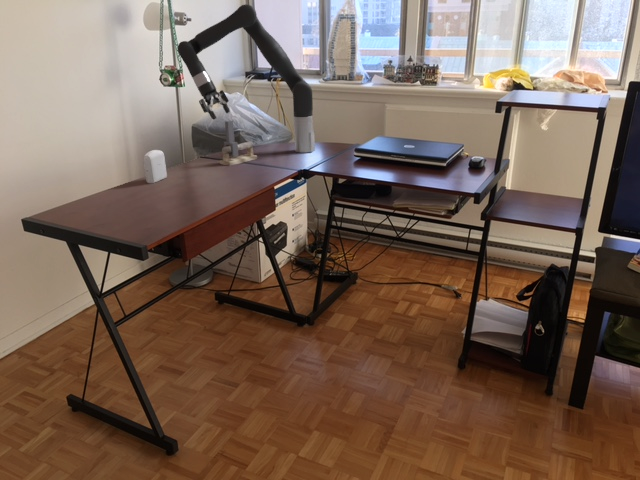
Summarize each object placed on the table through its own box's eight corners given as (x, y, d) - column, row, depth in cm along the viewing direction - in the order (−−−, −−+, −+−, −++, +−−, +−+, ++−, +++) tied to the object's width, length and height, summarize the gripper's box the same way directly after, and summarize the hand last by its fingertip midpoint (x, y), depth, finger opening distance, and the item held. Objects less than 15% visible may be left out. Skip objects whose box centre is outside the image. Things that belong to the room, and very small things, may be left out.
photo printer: (153, 183, 219) (149, 153, 215) (145, 183, 220) (140, 152, 216) (168, 177, 228) (165, 148, 224) (160, 177, 229) (156, 147, 225)
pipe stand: (247, 157, 262) (246, 140, 259) (257, 158, 258) (256, 141, 255) (219, 163, 250) (218, 146, 247) (230, 165, 246) (228, 148, 243)
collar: (230, 154, 253) (227, 120, 247) (238, 155, 249) (235, 121, 243) (225, 155, 250) (222, 121, 245) (233, 156, 247) (230, 122, 241)
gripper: (196, 85, 244) (214, 118, 247) (219, 76, 253) (236, 108, 256) (188, 91, 249) (206, 123, 253) (211, 81, 258) (228, 113, 262)
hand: (221, 115), depth 255 cm, fingers open, 8 cm apart
